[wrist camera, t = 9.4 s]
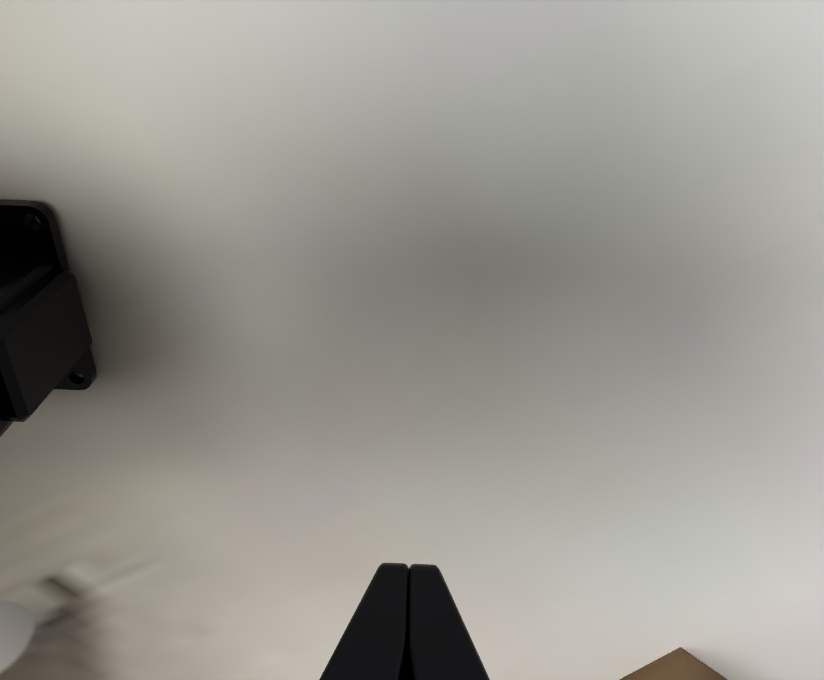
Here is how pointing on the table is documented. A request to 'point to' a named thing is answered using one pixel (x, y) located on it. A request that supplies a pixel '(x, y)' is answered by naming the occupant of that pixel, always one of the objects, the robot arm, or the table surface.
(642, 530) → the table surface
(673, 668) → the walnut block
